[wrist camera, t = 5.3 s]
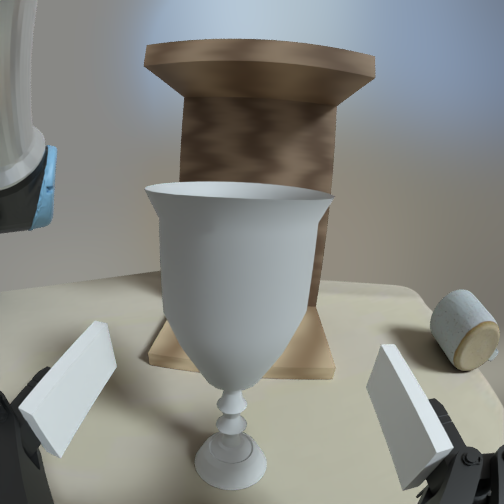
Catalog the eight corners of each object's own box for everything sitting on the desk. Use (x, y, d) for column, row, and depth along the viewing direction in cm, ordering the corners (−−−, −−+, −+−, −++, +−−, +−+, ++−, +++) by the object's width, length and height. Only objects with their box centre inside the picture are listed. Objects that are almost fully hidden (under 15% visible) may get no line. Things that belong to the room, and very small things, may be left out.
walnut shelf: (149, 364, 26) (146, 45, 17) (182, 302, 39) (188, 84, 31) (332, 379, 26) (374, 56, 17) (312, 312, 39) (334, 93, 30)
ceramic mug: (445, 378, 24) (472, 318, 22) (421, 339, 32) (439, 286, 29) (503, 370, 23) (527, 317, 21) (476, 338, 31) (494, 290, 29)
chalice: (256, 418, 21) (278, 183, 15) (299, 478, 15) (373, 203, 10) (168, 439, 18) (138, 182, 12) (197, 512, 12) (155, 201, 7)
